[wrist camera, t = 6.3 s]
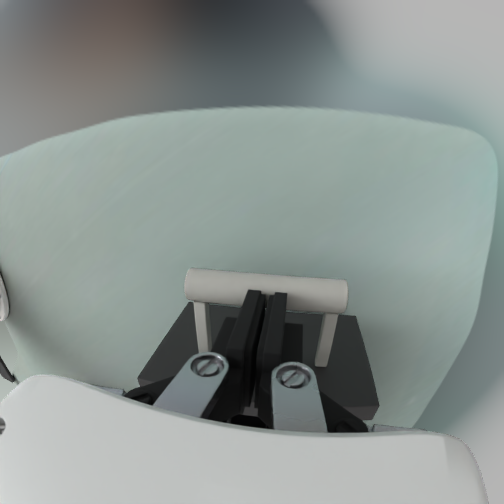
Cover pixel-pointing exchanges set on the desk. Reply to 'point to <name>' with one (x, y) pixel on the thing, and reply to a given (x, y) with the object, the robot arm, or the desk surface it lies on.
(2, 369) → the phone
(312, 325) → the drawer
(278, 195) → the desk surface
